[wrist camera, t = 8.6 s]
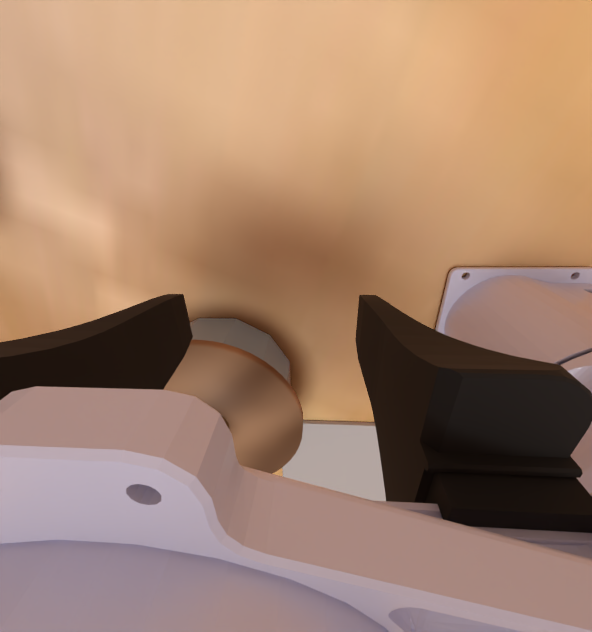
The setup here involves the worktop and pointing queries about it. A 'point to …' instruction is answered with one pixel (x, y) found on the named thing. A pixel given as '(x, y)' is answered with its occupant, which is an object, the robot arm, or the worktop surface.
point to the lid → (244, 401)
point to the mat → (339, 458)
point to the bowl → (242, 340)
